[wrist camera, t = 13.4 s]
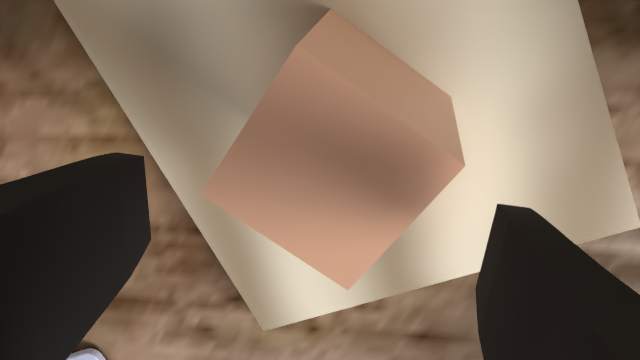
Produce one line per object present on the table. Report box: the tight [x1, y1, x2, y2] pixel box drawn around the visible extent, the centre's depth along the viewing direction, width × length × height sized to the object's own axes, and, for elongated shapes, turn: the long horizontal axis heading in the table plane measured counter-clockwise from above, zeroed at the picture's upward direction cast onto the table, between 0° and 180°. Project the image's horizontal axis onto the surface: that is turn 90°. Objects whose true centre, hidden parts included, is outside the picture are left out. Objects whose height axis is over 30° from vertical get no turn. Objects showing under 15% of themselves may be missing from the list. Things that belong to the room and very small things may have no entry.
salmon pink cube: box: [201, 9, 465, 290], centre depth 14 cm, size 4×4×5 cm
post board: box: [54, 0, 640, 331], centre depth 16 cm, size 14×14×4 cm
